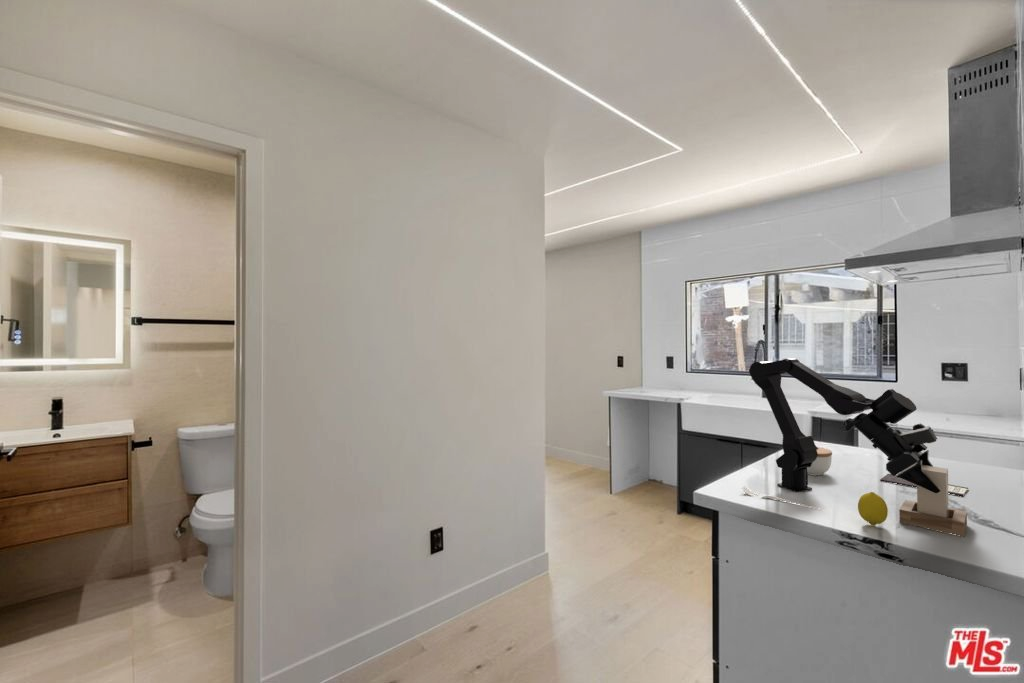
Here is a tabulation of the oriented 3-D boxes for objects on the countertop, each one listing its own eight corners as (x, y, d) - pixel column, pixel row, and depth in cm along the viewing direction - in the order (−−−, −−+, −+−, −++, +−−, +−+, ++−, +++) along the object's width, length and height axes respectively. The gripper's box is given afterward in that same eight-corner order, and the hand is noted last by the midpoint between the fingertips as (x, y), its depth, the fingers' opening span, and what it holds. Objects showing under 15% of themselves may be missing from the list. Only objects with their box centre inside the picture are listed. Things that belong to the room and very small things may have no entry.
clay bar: (946, 525, 103) (946, 473, 103) (917, 518, 107) (916, 468, 107) (948, 518, 106) (948, 468, 106) (920, 513, 110) (919, 464, 110)
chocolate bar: (888, 473, 143) (967, 487, 129) (888, 476, 143) (968, 491, 129) (880, 479, 138) (962, 495, 124) (880, 482, 138) (962, 498, 124)
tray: (964, 537, 100) (964, 522, 100) (899, 522, 108) (899, 509, 108) (967, 525, 106) (966, 511, 106) (905, 512, 114) (905, 499, 114)
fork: (823, 515, 115) (823, 508, 115) (740, 494, 129) (740, 488, 129) (825, 511, 117) (826, 504, 117) (744, 491, 131) (744, 485, 131)
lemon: (879, 532, 103) (879, 497, 103) (852, 523, 108) (852, 490, 108) (893, 527, 105) (892, 494, 105) (866, 519, 110) (866, 486, 110)
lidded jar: (785, 471, 150) (785, 443, 149) (806, 466, 154) (805, 439, 154) (819, 480, 140) (818, 450, 140) (839, 475, 144) (839, 446, 144)
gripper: (903, 419, 103) (972, 477, 95) (915, 409, 116) (977, 460, 107) (861, 447, 109) (923, 504, 101) (876, 435, 122) (932, 485, 113)
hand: (940, 487), depth 106 cm, fingers open, 9 cm apart
